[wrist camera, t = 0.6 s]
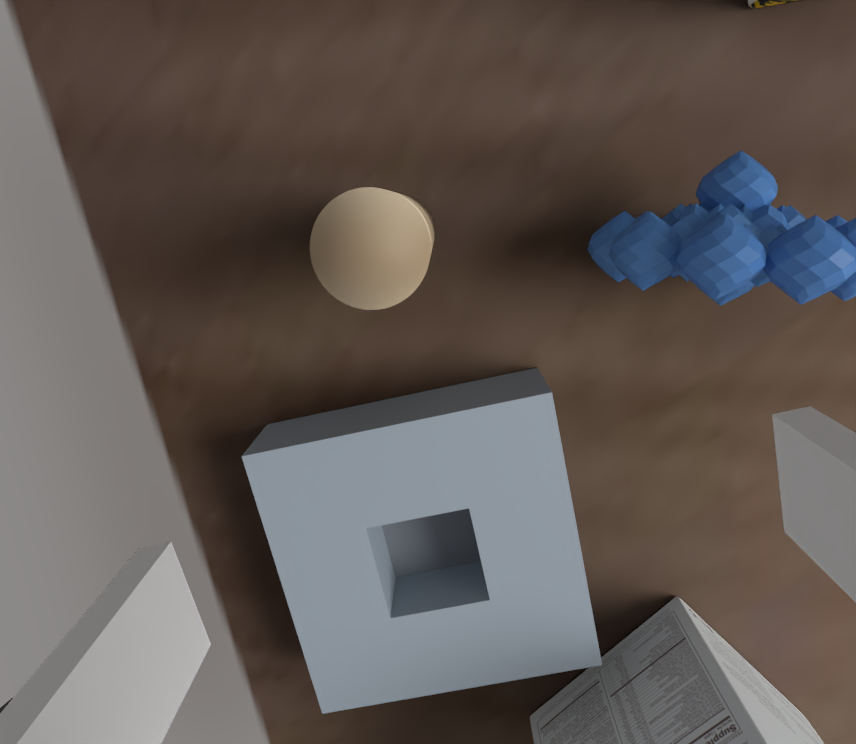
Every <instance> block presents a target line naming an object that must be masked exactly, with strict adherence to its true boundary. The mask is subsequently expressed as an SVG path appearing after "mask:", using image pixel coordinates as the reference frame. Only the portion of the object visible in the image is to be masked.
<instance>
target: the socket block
mask: <svg viewBox="0 0 856 744" xmlns="http://www.w3.org/2000/svg"><path fill="white" fill-rule="evenodd" d="M241 457H242V460H243V463H244V466H245V469H246V472H247V476H248V479H249V482H250V485H251V488H252V492H253V495H254V498H255V501H256V504H257V507H258V511H259V514H260V517H261V520H262V523H263V527H264V530H265V533H266V536H267V539H268V542H269V546H270V549H271V552H272V555H273V558H274V562H275V565H276V568H277V571H278V574H279V577H280V581H281V584H282V587H283V590H284V593H285V597H286V600H287V603H288V606H289V609H290V612H291V616H292V619H293V622H294V625H295V628H296V632H297V635H298V638H299V641H300V644H301V647H302V651H303V654H304V657H305V660H306V663H307V667H308V670H309V673H310V676H311V679H312V682H313V686H314V689H315V692H316V695H317V698H318V702H319V705H320V708H321V711H322V714H324V713H330V712H335V711H341V710H347V709H353V708H358V707H364V706H370V705H376V704H381V703H387V702H393V701H399V700H404V699H410V698H416V697H422V696H427V695H433V694H439V693H445V692H450V691H456V690H462V689H468V688H473V687H479V686H485V685H491V684H496V683H502V682H508V681H514V680H519V679H525V678H531V677H537V676H542V675H548V674H554V673H560V672H565V671H571V670H577V669H583V668H588V667H594V666H600V665H602V661H601V655H600V650H599V645H598V639H597V634H596V628H595V623H594V617H593V612H592V607H591V601H590V596H589V590H588V585H587V580H586V574H585V569H584V563H583V558H582V552H581V547H580V542H579V536H578V531H577V525H576V520H575V515H574V509H573V504H572V498H571V493H570V487H569V482H568V477H567V471H566V466H565V460H564V455H563V450H562V444H561V439H560V433H559V428H558V422H557V417H556V412H555V406H554V401H553V395H552V392H551V390H550V388H549V386H548V385H547V383H546V381H545V380H544V378H543V376H542V375H541V373H540V371H539V369H538V368H533V369H529V370H524V371H519V372H514V373H510V374H505V375H500V376H495V377H490V378H486V379H481V380H476V381H471V382H467V383H462V384H457V385H452V386H448V387H443V388H438V389H433V390H429V391H424V392H419V393H414V394H410V395H405V396H400V397H395V398H390V399H386V400H381V401H376V402H371V403H367V404H362V405H357V406H352V407H348V408H343V409H338V410H333V411H329V412H324V413H319V414H314V415H309V416H305V417H300V418H295V419H290V420H286V421H281V422H276V423H271V424H267V425H266V426H265V428H264V429H263V430H262V431H261V433H260V434H259V435H258V436H257V438H256V439H255V440H254V441H253V443H252V444H251V445H250V446H249V448H248V449H247V450H246V451H245V453H244V454H243V455H242V456H241Z"/></svg>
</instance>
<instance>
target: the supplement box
mask: <svg viewBox="0 0 856 744" xmlns="http://www.w3.org/2000/svg"><path fill="white" fill-rule="evenodd" d="M601 661H602V665H600V666H594V667H589V668H588V669H586V670H585V671H584V672H583V673H582V674H580V675H579V676H578V677H577V678H575V679H574V680H573V681H572V682H571V683H569V684H568V685H567V686H566V687H564V688H563V689H562V690H561V691H560V692H558V693H557V694H556V695H555V696H554V697H552V698H551V699H550V700H549V701H547V702H546V703H545V704H544V705H543V706H541V707H540V708H539V709H538V710H536V711H535V712H534V713H533V714H532V715H531V716H530V723H531V729H532V735H533V741H534V744H824V743H823V741H822V740H821V738H820V737H819V736H818V734H817V733H816V731H815V730H814V729H813V727H812V726H811V724H810V723H809V722H808V720H807V719H806V717H805V716H804V715H803V714H802V713H801V712H800V711H799V710H798V709H797V708H796V707H795V706H794V705H793V704H792V703H791V702H789V701H788V700H787V699H786V698H785V697H784V696H783V695H782V694H781V693H780V692H779V691H778V690H777V689H776V688H775V687H774V686H773V685H771V684H770V683H769V682H768V681H767V680H766V679H765V678H764V677H763V676H762V675H761V674H760V673H759V672H758V671H757V670H756V669H755V668H754V667H752V666H751V665H750V664H749V663H748V662H747V661H746V660H745V659H744V658H743V657H742V656H741V655H740V654H739V653H738V652H737V651H736V650H734V649H733V648H732V647H731V646H730V645H729V644H728V643H727V642H726V641H725V640H724V639H723V638H722V637H721V636H720V635H719V634H717V633H716V632H715V631H714V630H713V629H712V628H711V627H710V626H709V625H708V624H707V623H706V622H705V621H704V620H703V619H702V618H700V617H699V616H698V615H697V614H696V613H695V612H694V611H693V610H692V609H691V608H690V607H689V606H688V605H687V604H686V603H685V602H684V601H683V600H682V599H680V598H679V597H675V598H674V599H672V600H671V601H670V602H669V603H667V604H666V605H665V606H664V607H663V608H661V609H660V610H659V611H658V612H656V613H655V614H654V615H653V616H652V617H650V618H649V619H648V620H647V621H645V622H644V623H643V624H642V625H641V626H639V627H638V628H637V629H636V630H634V631H633V632H632V633H631V634H629V635H628V636H627V637H626V638H625V639H623V640H622V641H621V642H620V643H618V644H617V645H616V646H615V647H613V648H612V649H611V650H610V651H609V652H607V653H606V654H605V655H604V656H602V657H601Z"/></svg>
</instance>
